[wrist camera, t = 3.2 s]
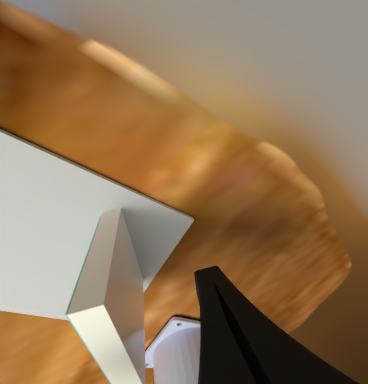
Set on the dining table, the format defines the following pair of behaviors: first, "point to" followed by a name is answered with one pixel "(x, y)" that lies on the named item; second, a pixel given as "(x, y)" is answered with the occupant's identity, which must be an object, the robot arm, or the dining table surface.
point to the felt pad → (67, 226)
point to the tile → (111, 303)
